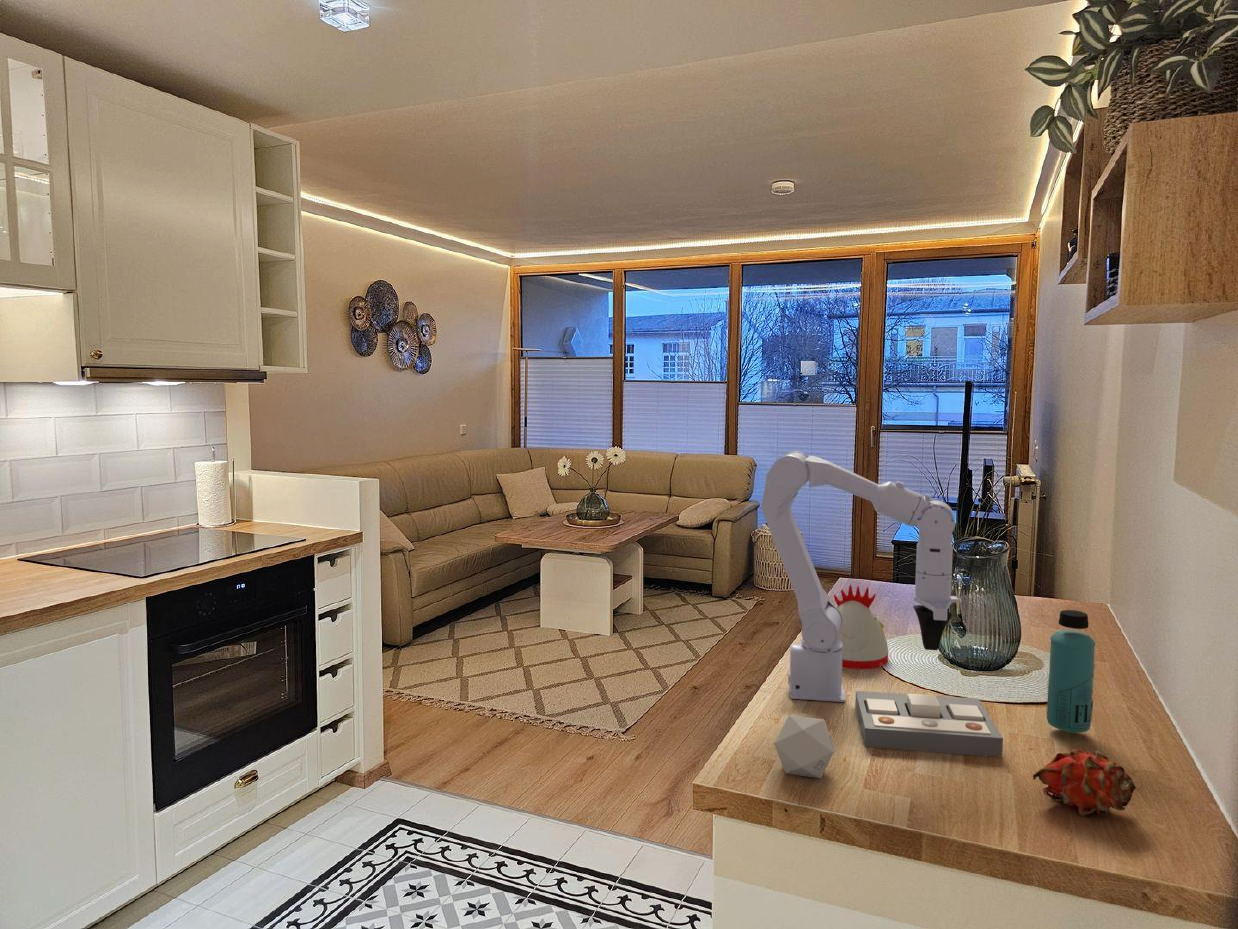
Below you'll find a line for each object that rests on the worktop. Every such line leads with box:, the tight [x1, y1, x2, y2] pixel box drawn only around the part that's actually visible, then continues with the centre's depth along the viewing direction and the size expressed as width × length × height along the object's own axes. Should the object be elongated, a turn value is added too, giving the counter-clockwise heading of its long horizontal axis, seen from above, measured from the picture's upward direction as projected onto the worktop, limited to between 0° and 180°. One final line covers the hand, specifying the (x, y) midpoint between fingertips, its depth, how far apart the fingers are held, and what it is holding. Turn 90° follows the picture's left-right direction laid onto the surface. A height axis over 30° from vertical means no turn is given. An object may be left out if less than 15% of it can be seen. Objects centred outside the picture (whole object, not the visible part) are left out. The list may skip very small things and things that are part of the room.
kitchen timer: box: [833, 584, 889, 670], centre depth 165 cm, size 14×14×15 cm
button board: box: [854, 690, 1004, 757], centre depth 132 cm, size 20×15×3 cm
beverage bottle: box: [1045, 609, 1096, 734], centre depth 130 cm, size 6×7×20 cm
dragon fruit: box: [1032, 748, 1137, 816], centre depth 108 cm, size 8×8×12 cm
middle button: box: [906, 693, 941, 718], centre depth 133 cm, size 4×4×2 cm
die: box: [773, 714, 836, 780], centre depth 119 cm, size 8×9×10 cm
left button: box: [866, 699, 898, 715], centre depth 134 cm, size 4×4×2 cm
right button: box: [948, 704, 983, 721], centre depth 132 cm, size 4×4×2 cm
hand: (930, 648), depth 140 cm, fingers closed
